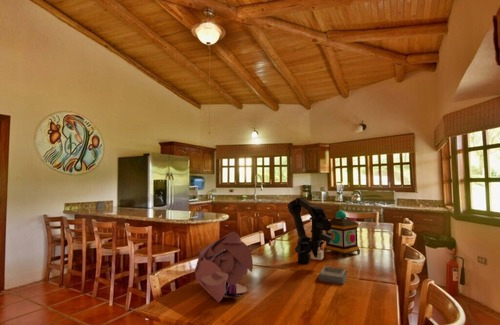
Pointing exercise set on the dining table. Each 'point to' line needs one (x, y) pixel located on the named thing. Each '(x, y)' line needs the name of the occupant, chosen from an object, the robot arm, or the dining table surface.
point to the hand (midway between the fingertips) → (317, 255)
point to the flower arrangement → (224, 267)
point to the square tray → (333, 275)
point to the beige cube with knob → (318, 255)
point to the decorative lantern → (342, 235)
